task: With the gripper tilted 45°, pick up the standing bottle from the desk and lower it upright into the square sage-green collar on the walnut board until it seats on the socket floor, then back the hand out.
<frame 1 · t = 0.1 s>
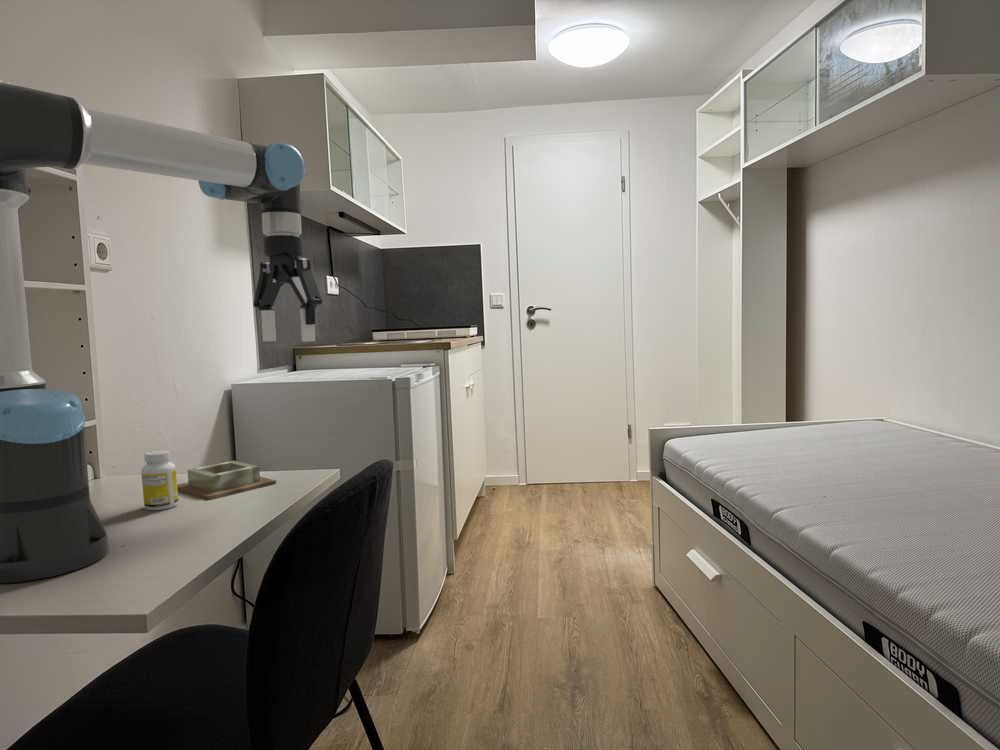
hand: (288, 341, 134), 28 cm above the table, tool pointing down, fingers open, 13 cm apart
socket board: (224, 485, 129), on the table
supplement bottle: (161, 507, 116), on the table
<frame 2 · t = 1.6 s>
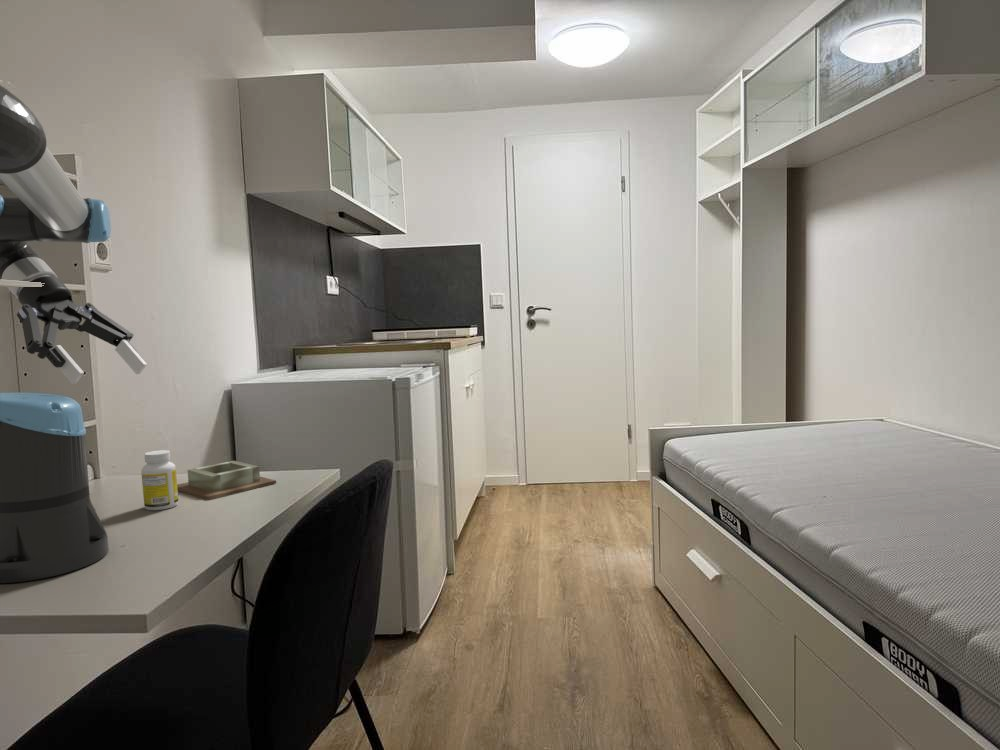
hand: (112, 373, 117), 24 cm above the table, tool tilted 45°, fingers open, 13 cm apart
nothing on the table moved.
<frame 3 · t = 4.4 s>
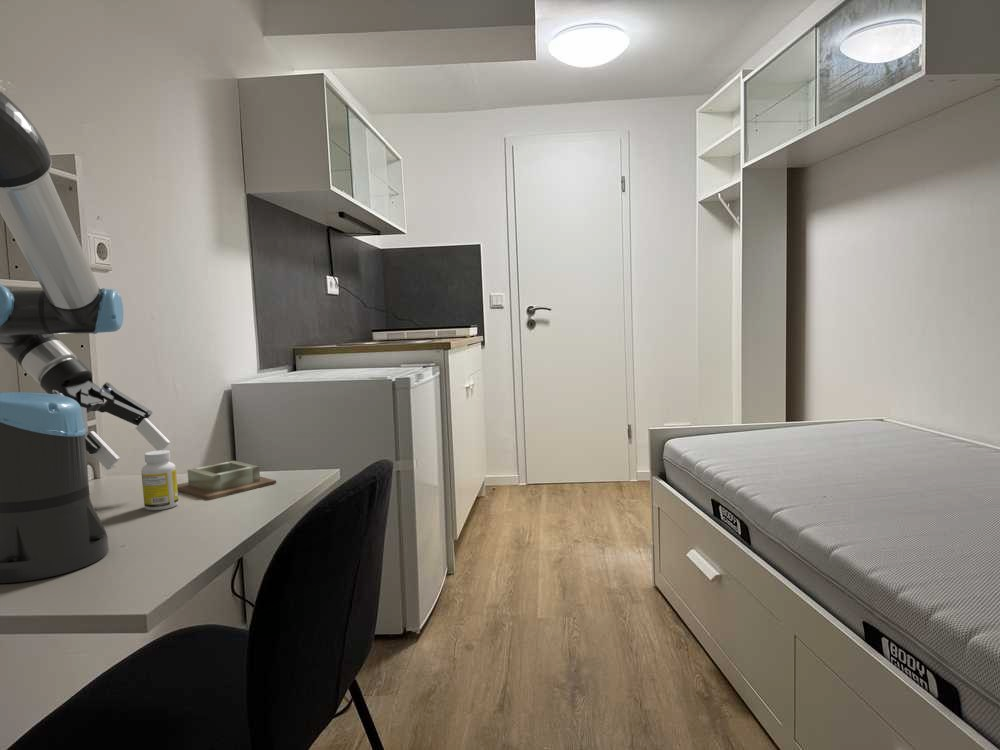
hand: (140, 455, 117), 9 cm above the table, tool tilted 45°, fingers open, 13 cm apart
nothing on the table moved.
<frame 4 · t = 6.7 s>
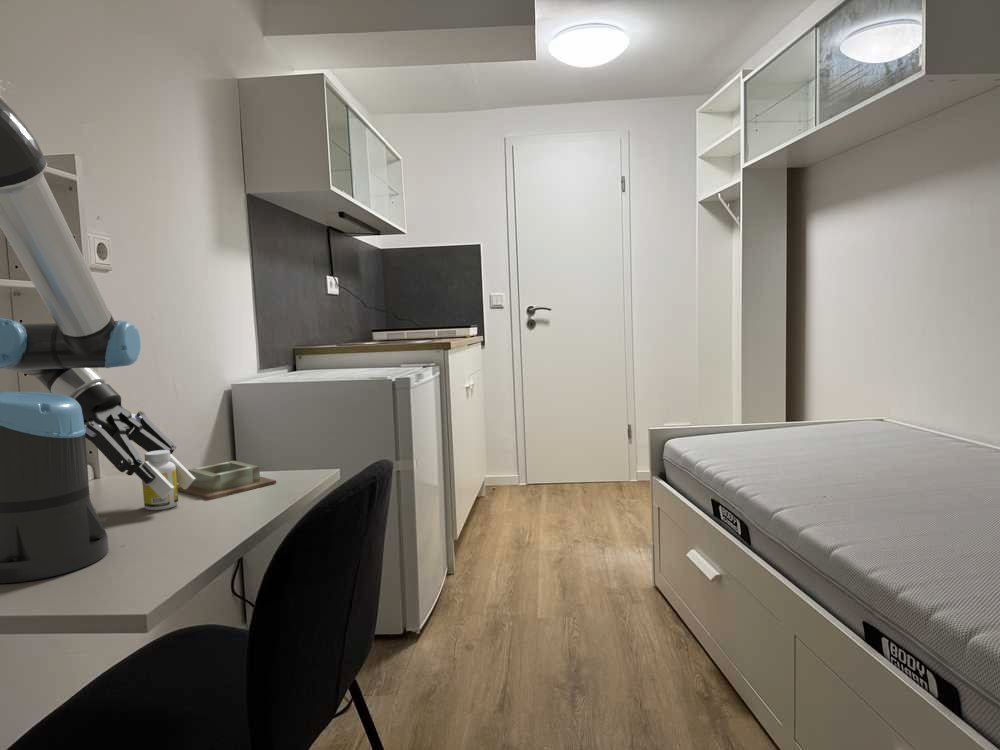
hand: (179, 488, 115), 3 cm above the table, tool tilted 45°, fingers closed on supplement bottle, 5 cm apart
supplement bottle: (161, 507, 116), on the table, touching gripper
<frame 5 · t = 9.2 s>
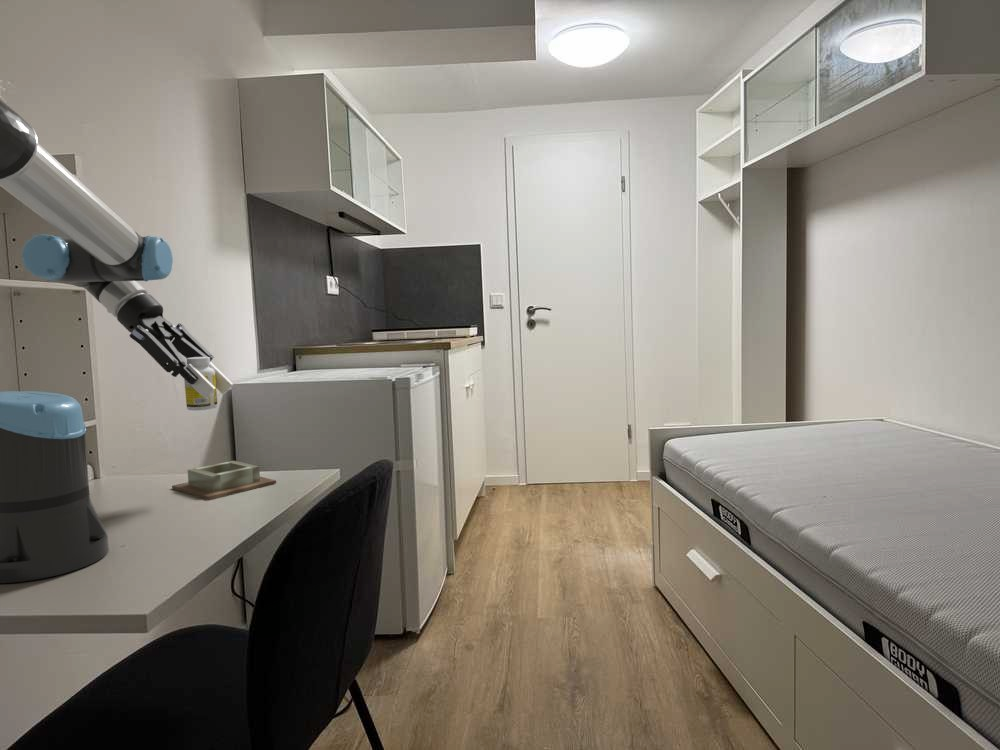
hand: (219, 391, 124), 19 cm above the table, tool tilted 45°, fingers closed on supplement bottle, 5 cm apart
supplement bottle: (202, 409, 125), point 16 cm above the table, touching gripper
when the fingers open (5 cm above the table, at t = 11.5 s): supplement bottle drops 1 cm, resting on socket board.
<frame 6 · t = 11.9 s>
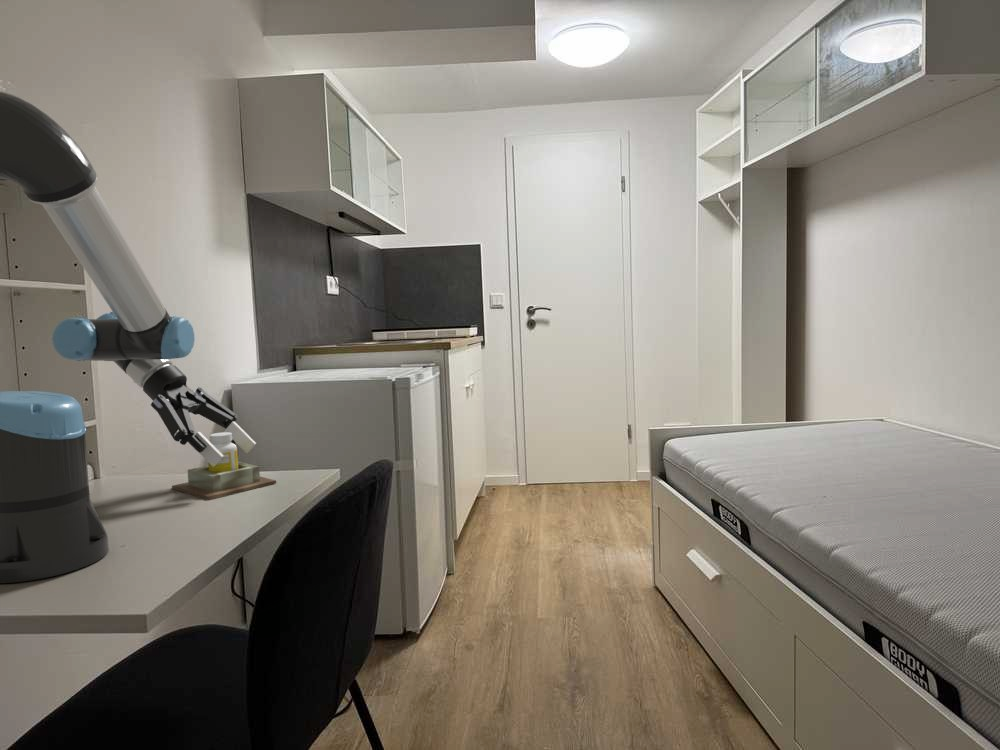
hand: (235, 454, 128), 6 cm above the table, tool tilted 45°, fingers open, 11 cm apart
supplement bottle: (224, 483, 129), resting on socket board
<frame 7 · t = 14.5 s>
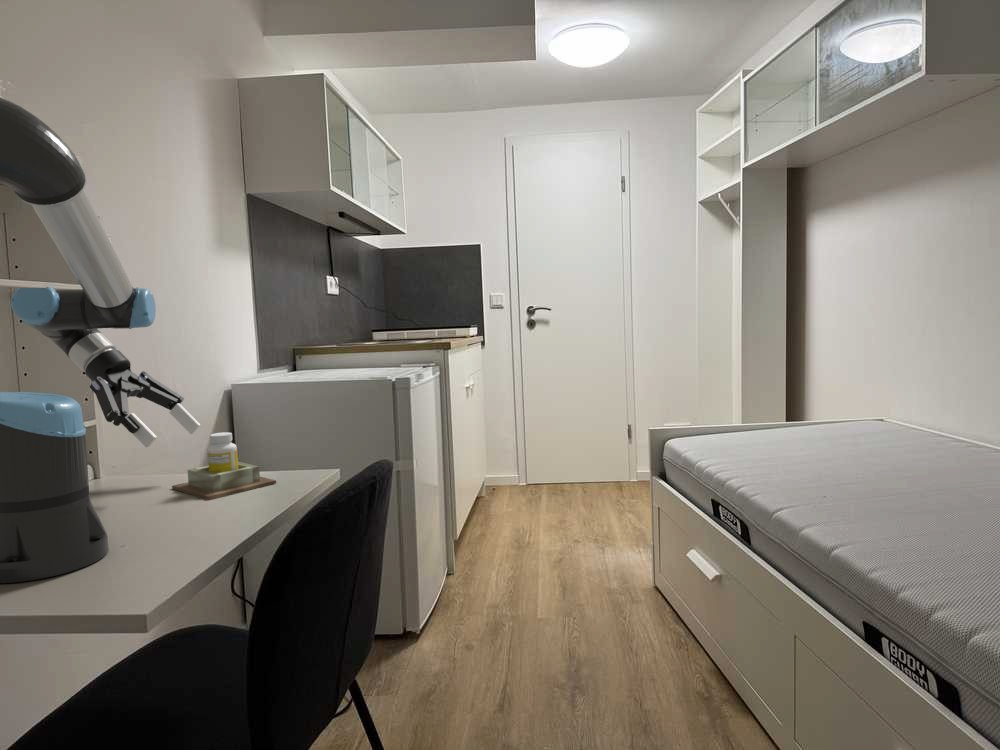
hand: (175, 435, 130), 10 cm above the table, tool tilted 45°, fingers open, 13 cm apart
nothing on the table moved.
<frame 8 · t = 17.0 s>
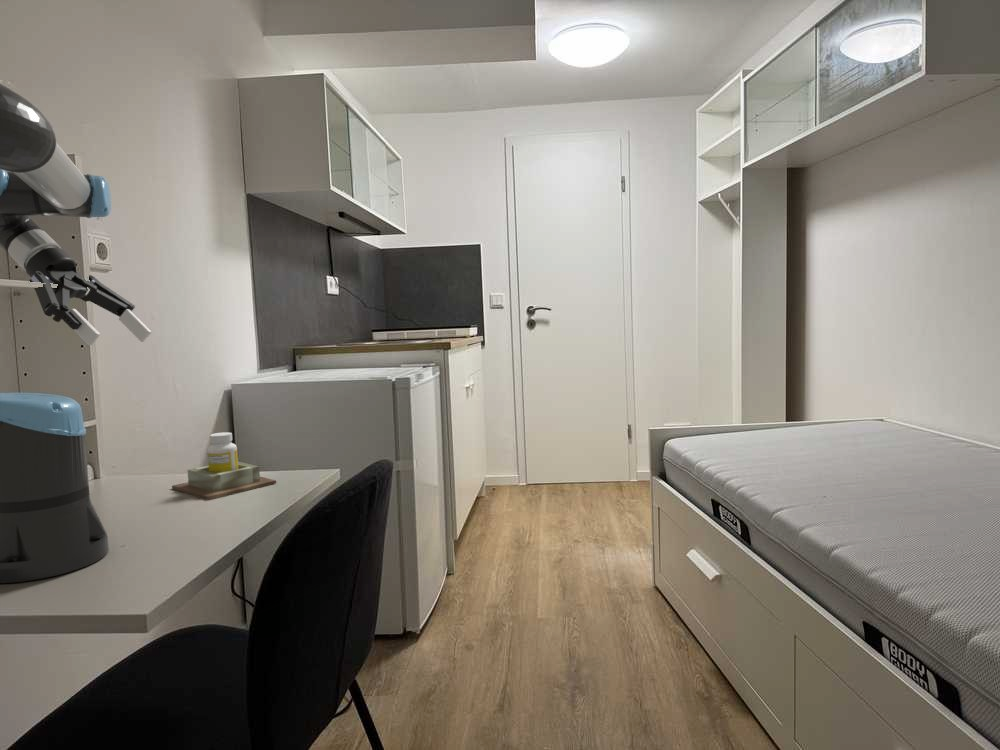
hand: (122, 338, 123), 30 cm above the table, tool tilted 45°, fingers open, 13 cm apart
nothing on the table moved.
at the end: supplement bottle 0.1 cm off-centre on the socket board, point 0.4 cm above the socket board's base; supplement bottle tilted 0°; the gripper is holding nothing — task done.
